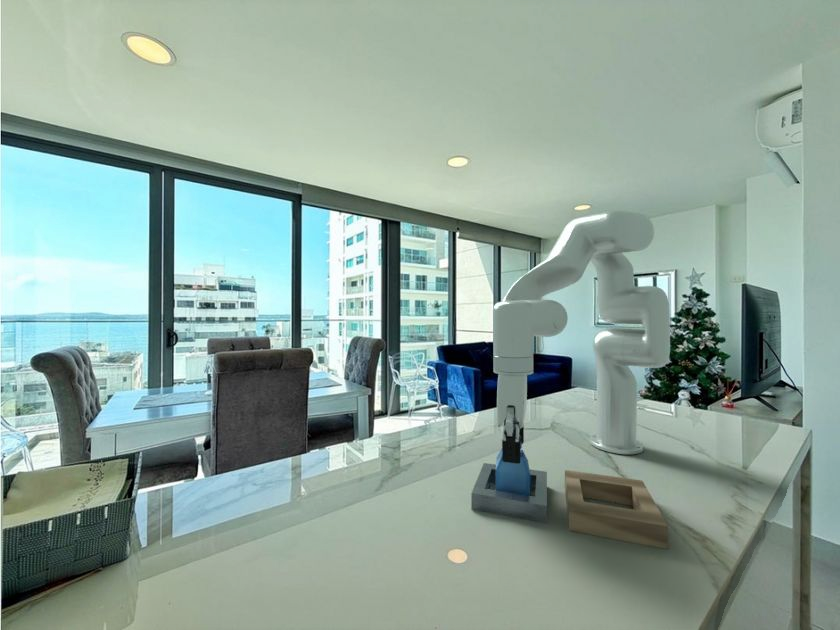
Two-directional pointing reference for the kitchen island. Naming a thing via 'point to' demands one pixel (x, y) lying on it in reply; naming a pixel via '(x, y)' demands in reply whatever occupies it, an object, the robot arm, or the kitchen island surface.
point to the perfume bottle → (513, 475)
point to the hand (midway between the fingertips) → (513, 451)
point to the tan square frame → (614, 509)
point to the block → (510, 496)
